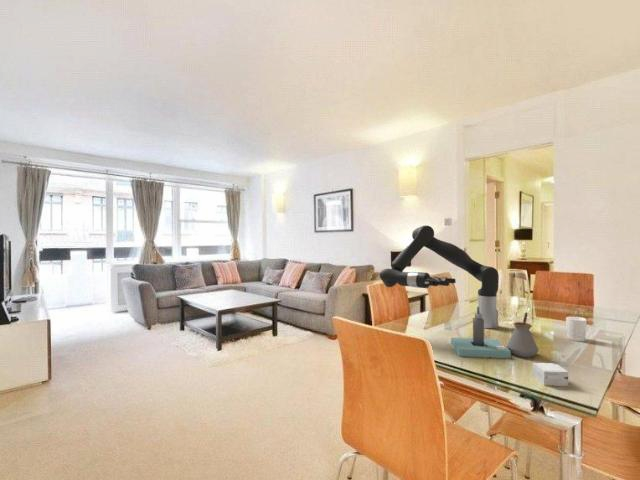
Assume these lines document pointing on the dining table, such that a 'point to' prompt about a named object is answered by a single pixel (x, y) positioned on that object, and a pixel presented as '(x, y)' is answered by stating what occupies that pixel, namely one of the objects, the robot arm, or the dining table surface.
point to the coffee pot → (522, 340)
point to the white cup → (576, 328)
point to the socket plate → (480, 348)
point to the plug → (478, 329)
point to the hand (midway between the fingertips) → (452, 282)
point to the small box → (550, 374)
